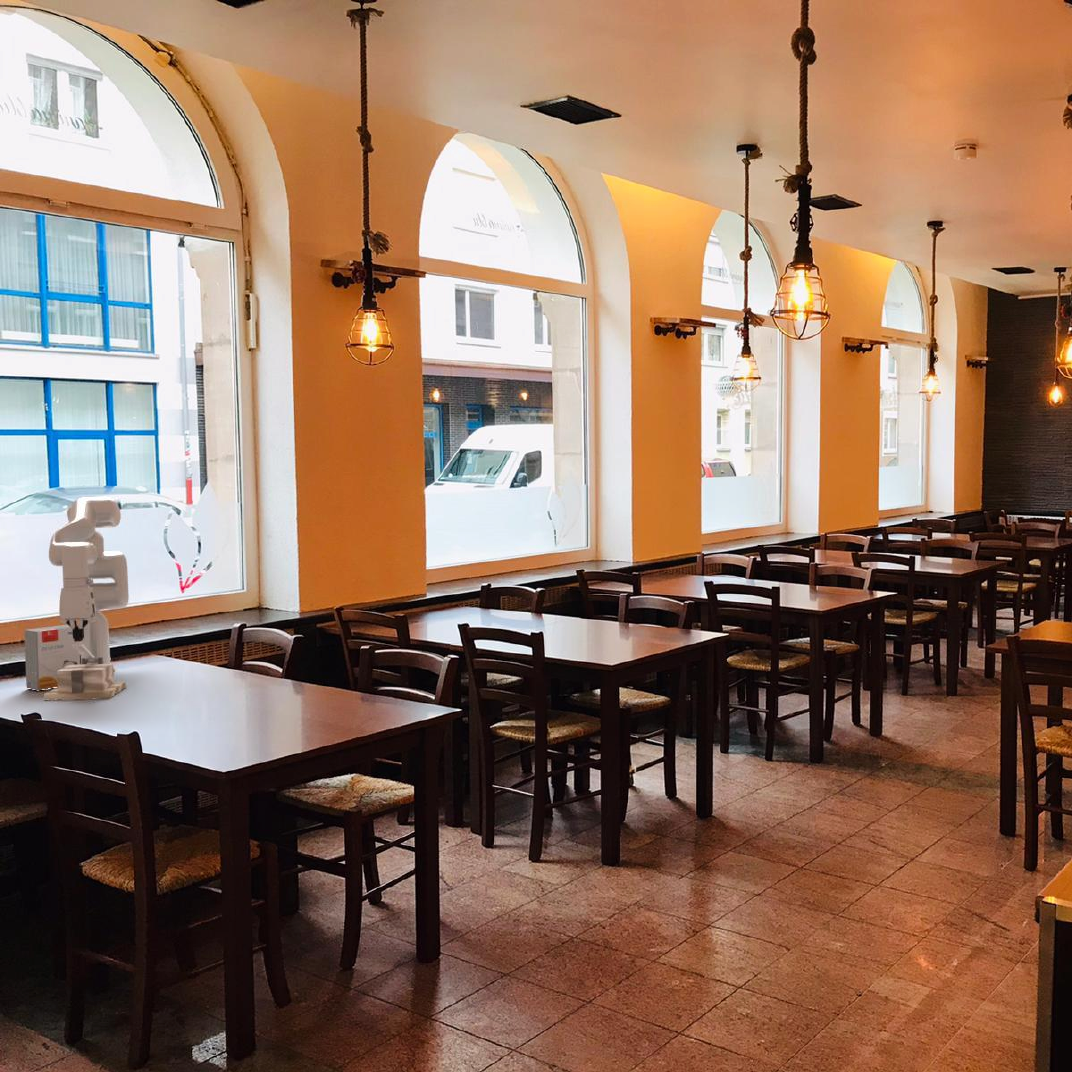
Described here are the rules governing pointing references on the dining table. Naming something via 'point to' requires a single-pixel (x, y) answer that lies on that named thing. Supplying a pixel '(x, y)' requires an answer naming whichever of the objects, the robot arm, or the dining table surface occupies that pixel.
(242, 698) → the dining table surface
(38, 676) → the hard drive box
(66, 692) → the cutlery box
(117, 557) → the robot arm
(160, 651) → the dining table surface
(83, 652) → the latch bar
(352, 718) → the dining table surface
